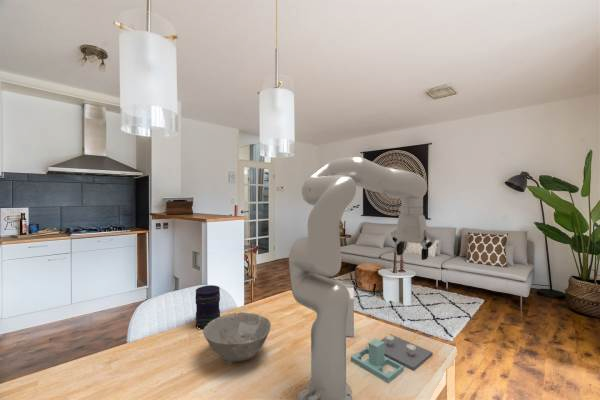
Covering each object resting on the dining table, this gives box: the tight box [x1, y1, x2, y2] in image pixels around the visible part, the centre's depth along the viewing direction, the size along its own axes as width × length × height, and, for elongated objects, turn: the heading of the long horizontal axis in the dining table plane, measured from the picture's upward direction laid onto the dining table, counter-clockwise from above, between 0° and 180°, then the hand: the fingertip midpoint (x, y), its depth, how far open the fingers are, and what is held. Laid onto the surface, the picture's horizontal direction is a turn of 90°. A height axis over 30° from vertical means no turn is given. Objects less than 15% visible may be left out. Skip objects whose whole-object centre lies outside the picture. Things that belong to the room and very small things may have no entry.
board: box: [379, 334, 434, 372], centre depth 96 cm, size 13×16×4 cm
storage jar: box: [194, 285, 221, 330], centre depth 117 cm, size 10×10×15 cm
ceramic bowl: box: [202, 312, 272, 363], centre depth 94 cm, size 22×23×10 cm
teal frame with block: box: [350, 338, 405, 383], centre depth 88 cm, size 9×14×7 cm, turn 40°
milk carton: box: [342, 283, 355, 338], centre depth 110 cm, size 7×7×19 cm
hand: (411, 257), depth 104 cm, fingers open, 9 cm apart
